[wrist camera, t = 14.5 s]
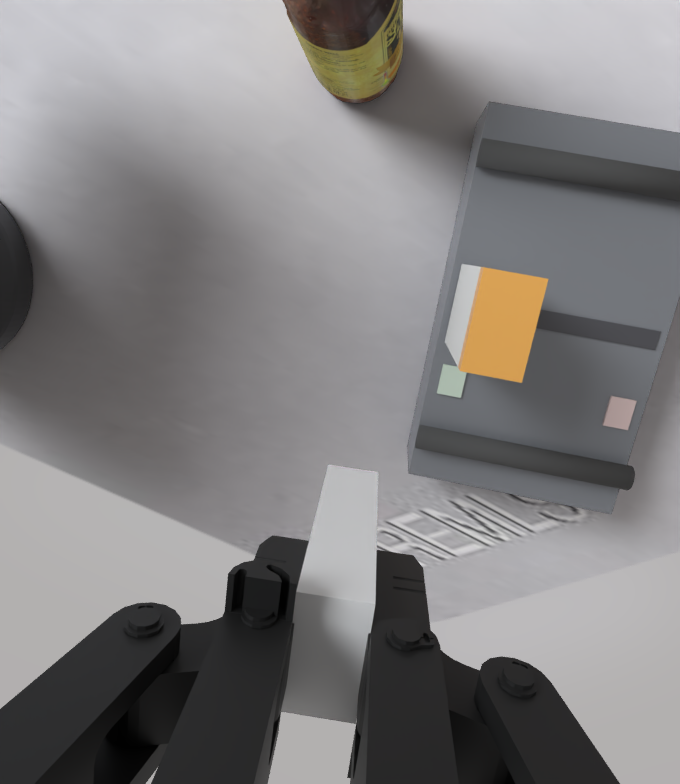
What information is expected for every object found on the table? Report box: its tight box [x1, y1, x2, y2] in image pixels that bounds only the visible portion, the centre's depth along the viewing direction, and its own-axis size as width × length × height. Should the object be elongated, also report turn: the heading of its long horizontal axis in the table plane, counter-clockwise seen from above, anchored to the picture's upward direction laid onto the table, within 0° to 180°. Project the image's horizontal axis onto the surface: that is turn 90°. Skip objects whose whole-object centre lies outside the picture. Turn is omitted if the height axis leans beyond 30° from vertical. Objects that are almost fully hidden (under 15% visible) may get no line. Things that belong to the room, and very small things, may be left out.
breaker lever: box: [445, 264, 548, 383], centre depth 33 cm, size 3×5×10 cm, turn 170°
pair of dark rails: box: [415, 138, 680, 490], centre depth 37 cm, size 14×20×2 cm
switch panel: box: [407, 102, 680, 514], centre depth 40 cm, size 14×24×6 cm, turn 170°
